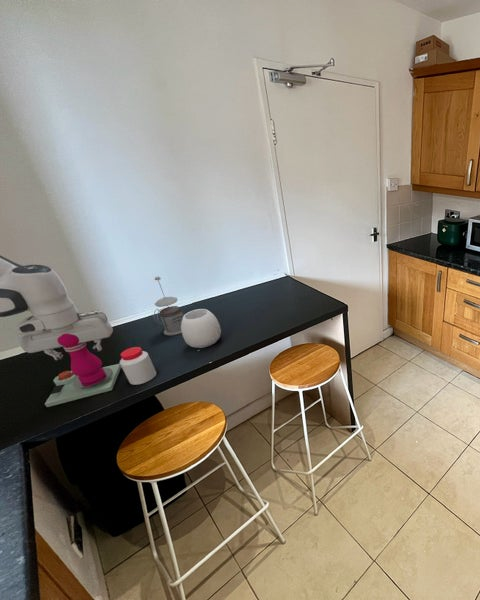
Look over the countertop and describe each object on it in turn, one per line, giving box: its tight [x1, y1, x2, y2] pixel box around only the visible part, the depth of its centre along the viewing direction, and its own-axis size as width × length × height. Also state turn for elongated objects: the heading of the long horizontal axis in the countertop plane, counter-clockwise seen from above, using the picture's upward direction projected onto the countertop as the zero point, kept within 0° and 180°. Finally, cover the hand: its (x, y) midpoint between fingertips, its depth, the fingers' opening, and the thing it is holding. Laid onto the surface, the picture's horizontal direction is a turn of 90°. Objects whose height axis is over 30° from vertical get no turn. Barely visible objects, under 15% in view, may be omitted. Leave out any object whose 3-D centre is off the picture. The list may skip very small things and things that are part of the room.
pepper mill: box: [57, 333, 105, 383], centre depth 100 cm, size 7×7×20 cm
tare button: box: [57, 370, 72, 380], centre depth 105 cm, size 3×3×2 cm
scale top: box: [49, 367, 113, 396], centre depth 104 cm, size 15×10×1 cm
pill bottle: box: [119, 346, 157, 386], centre depth 107 cm, size 8×8×11 cm
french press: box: [153, 276, 184, 336], centre depth 131 cm, size 10×12×25 cm
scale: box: [44, 363, 122, 408], centre depth 105 cm, size 16×14×3 cm
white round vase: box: [181, 308, 222, 349], centre depth 125 cm, size 13×13×14 cm
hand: (79, 354), depth 100 cm, fingers open, 8 cm apart
